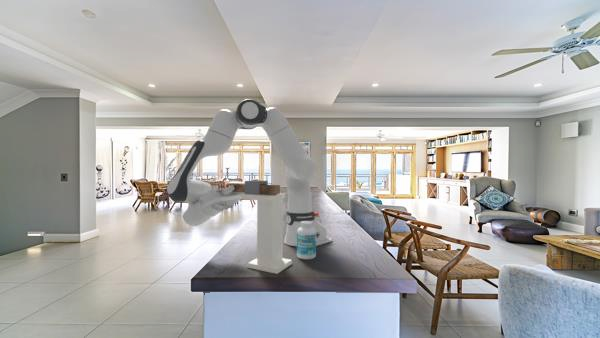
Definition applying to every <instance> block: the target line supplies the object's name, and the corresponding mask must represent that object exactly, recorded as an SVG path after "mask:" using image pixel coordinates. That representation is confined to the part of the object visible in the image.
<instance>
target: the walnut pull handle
mask: <svg viewBox="0 0 600 338" xmlns="http://www.w3.org/2000/svg"><path fill="white" fill-rule="evenodd" d="M231 185H235V187H236V190H234V191H232V192H243V193H245V183H240V182H239V183H237V182H234V183H233V182H232V183H229V187H230V186H231ZM280 193H281V185H280V184H268V185H264V184H260V194H274V195H276V194H280Z"/></svg>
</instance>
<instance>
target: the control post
mask: <svg viewBox="0 0 600 338" xmlns="http://www.w3.org/2000/svg"><path fill="white" fill-rule="evenodd" d="M244 184H245V194H241V200H251V201H252V200H253V201H257V202H256V203H257V204H256V205H257V206H256V208H257V210H256V211H257V213H256V214H257V215H256V221H257V223H256V224H257V225H256V226H257V227H256V228H257V229H256V230H257V232H256V234H257V235H256V236H257V237H256V241H257V242H256V248H257V249H256V250H257V252H256V258H254V259H253V260H251V261H249V262H247V268H249V269H253V270H257V271H261V272H262V271H263V272H267V273H270V274H276V275H278V274H280V272H282V271H283V270H285V269H287V268H289V267H290V266H291V265H292V264H293V260H292V259H290V258H284V257H283V255H284V254H283V253H284V251H283V250H284V247H283V243H284V237H283V236H284V235H283V234H284V229H283V227H284V226H283V223H284V222H283V220H284V218H283V217H284V216H283V215H284V202H283V201H284V200H283V199H285V198H286V194H285V193H281V192H280V194H276V195H274V194H260V184H264V185H269V183H268V180H259V179H256V180H254V179H253V180H245V181H244Z"/></svg>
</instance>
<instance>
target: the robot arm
mask: <svg viewBox="0 0 600 338" xmlns="http://www.w3.org/2000/svg"><path fill="white" fill-rule="evenodd" d="M257 127H261V128H262V129H263V131H265V133H266V135H267V137H268V139H269V141H270V142H271V144H272V146H273V148H274V150H275V151H276V154H278V156H279V158H280V159H281V160H282V162H283V163H284V165H285V179H286V190H287V191H286V192H287V211H286V231H285V236H284V239H283V243H284V245H285V244H286V245H287V246H292V247H297V230H298V228H300V227H301V221H311V222H313V226H312V227H313V228H315V229H316V247H317V246H321V245H324V244H327V243H331V242H333V239H332V237H330V236H328V232H327V228H326V226H324V225H323V224H322V223H321V222H319V221H318V220H317V219H316V217H317V218H318V217H319V216H320V213H319V212H318V211H315V212H314V211H313V209H312V208H313V207H312V206H313V203H312V202H313V197H312V196H313V194H312V190H311V189H312V188H311V185H310V183H311V182H310V180H312V179H313V178H314V177H315V175H316V173H317V166H316V163H315V162H314V161H313V159H312V158H311V157H310V155H309V153H308V152H307V151H306V149H305V148H304V146H303V144H301V142H300V140H299V139H298V138H297V135H296V134H295V132H294V130H293V127H292V126H291V125H290V123H289V120H287V118H286V116H285V115H284V113H283V112H282V111H281V110H280V109H279V108H278V107H275V106H273V107H268V108H267V107H266V106H264V105H263V104H262V103H260V102H258V101H257V100H254V99H252V98H246V99H243V100H242V101H240V102H239V103H238V105H237V107H236V110H234V111H233V110H230V109H220V110H218V111H217V112H216V114H215V115H214V117H213V118H212V120H211V122H210V125H209V127H208V129H207V132H206V134H205V135H204V136H203V137H202V138H201V139H199V140H196V141H195V142H194V143H193V145H191V148H190V149H189V151H188V153H187V154H186V156H185V158H184V159H183V161H182V163H181V164H180V165H179V168H178V170H177V171H176V172H175V174H174V176H173V177H172V178H171V179H170V181H169V182H168V184H167V186H166V194H167V195H168V197H169V198H170V200H172V202H176V203H178V202H179V203H187V204H188V206H187V209H186V210H185V211H184V212H183V214H182V219H183V221H184V222H185V223H186V225H189V226H191V227H197V226H201V225H202V224H204V223H206V222H208V221H210V220H211V218H212V217H215V216H217V215H219V214H220V213H221V212H224V211H225V210H228V209H231V208H233V207H234V206H235V204H237V203H238V202H239V201H241V200H242V199H241V194H245V193H243V192H232V191H234V190H236V187H235V185H231V186H230V185H229V186H228V187H225V188H220V189H214V188H213V186H212V184H210V183H209V182H207V181H206V182H205V181H202V180H197V179H193V178H191V177H192V174H193V173H194V171H195V169H196V168H197V166H198V164H199V162H200V161H201V160H202V159H204V158H206V157H216V156H220V155H224V154H225V153H227V152H228V151H229V150H230V149H231V147H232V145H233V141H234V139H235V136H236V134H237V131H238V130H239V129H240V130H253V129H255V128H257Z"/></svg>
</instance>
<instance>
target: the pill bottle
mask: <svg viewBox="0 0 600 338" xmlns="http://www.w3.org/2000/svg"><path fill="white" fill-rule="evenodd" d="M312 226H313V222H311V221H301V227H300V228H298V230H297V246H296V257H297V258H298V259H300V260H312V259H315V258H316V256H317V246H316V229H315V228H313V227H312Z"/></svg>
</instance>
